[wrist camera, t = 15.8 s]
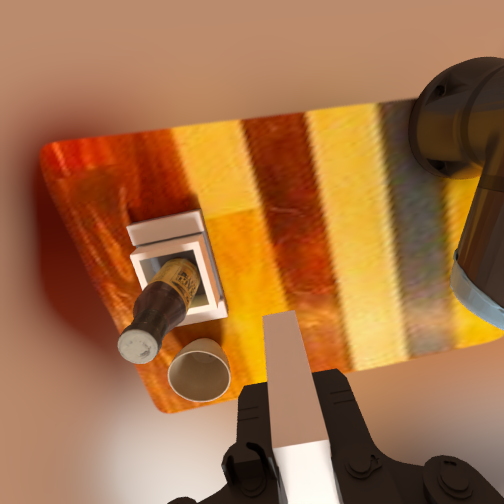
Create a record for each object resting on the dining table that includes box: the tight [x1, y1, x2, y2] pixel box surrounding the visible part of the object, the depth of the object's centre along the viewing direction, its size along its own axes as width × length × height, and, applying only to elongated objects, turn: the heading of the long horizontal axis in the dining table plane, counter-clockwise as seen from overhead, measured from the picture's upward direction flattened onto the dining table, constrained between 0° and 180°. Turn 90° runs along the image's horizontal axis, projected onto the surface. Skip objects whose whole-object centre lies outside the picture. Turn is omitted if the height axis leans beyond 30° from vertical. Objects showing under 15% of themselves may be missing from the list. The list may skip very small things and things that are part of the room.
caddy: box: [127, 208, 228, 327], centre depth 48 cm, size 11×18×6 cm, turn 12°
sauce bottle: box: [118, 257, 200, 364], centre depth 40 cm, size 7×6×20 cm
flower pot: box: [168, 338, 231, 402], centre depth 52 cm, size 10×10×7 cm
